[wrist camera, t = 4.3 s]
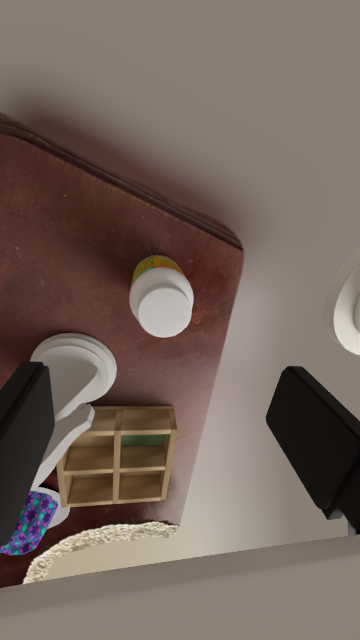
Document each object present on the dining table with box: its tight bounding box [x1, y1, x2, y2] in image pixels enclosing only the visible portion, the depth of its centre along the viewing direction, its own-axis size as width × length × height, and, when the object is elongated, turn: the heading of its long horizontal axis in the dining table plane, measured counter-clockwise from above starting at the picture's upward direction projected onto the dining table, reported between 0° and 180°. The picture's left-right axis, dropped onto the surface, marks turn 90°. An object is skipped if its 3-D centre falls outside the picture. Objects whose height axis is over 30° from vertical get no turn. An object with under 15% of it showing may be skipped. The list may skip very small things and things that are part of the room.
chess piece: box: [30, 333, 117, 491], centre depth 22 cm, size 10×10×15 cm
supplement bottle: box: [130, 255, 193, 337], centre depth 21 cm, size 5×5×10 cm
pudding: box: [0, 487, 70, 555], centre depth 36 cm, size 12×12×5 cm
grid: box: [56, 406, 177, 508], centre depth 33 cm, size 15×15×4 cm
